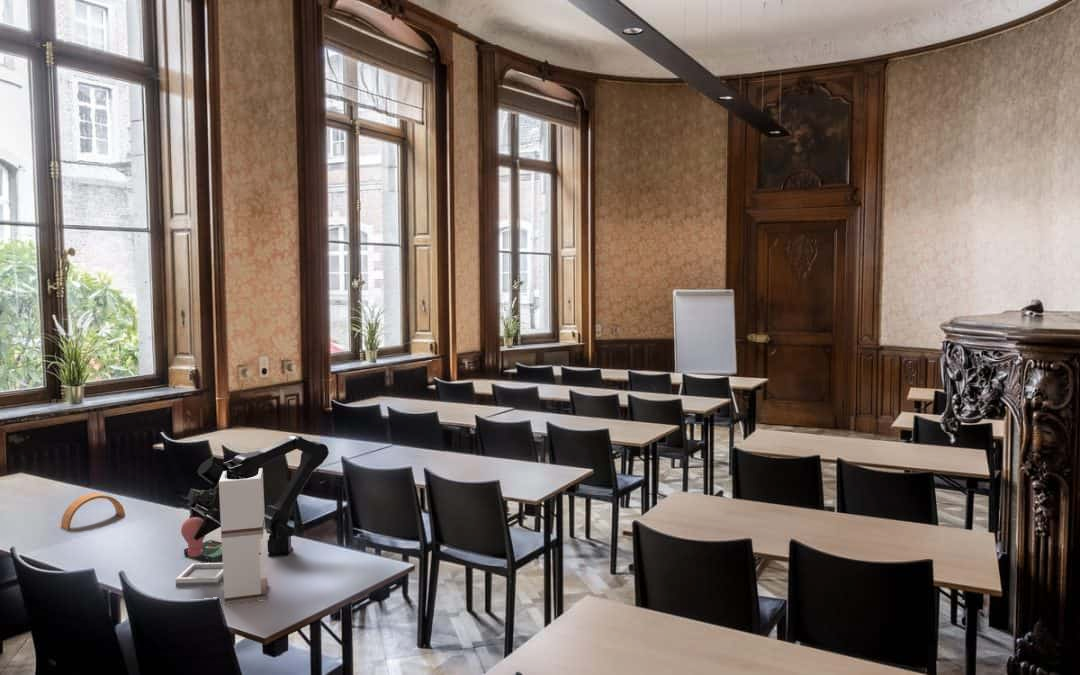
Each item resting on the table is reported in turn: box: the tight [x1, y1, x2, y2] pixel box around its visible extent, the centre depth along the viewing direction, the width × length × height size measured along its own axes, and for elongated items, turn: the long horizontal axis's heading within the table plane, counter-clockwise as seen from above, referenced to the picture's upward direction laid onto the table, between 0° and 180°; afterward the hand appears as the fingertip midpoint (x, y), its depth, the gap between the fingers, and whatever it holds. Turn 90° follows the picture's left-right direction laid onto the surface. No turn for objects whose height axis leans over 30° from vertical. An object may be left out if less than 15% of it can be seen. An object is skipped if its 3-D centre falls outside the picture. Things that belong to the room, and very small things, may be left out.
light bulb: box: [180, 517, 206, 558], centre depth 232 cm, size 7×7×12 cm
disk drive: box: [183, 539, 223, 563], centre depth 251 cm, size 10×3×15 cm
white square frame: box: [175, 562, 224, 587], centre depth 233 cm, size 12×12×2 cm
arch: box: [60, 492, 126, 531], centre depth 285 cm, size 6×20×10 cm, turn 141°
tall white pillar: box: [219, 467, 269, 606], centre depth 219 cm, size 11×11×35 cm
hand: (190, 536), depth 231 cm, fingers closed on light bulb, 7 cm apart
